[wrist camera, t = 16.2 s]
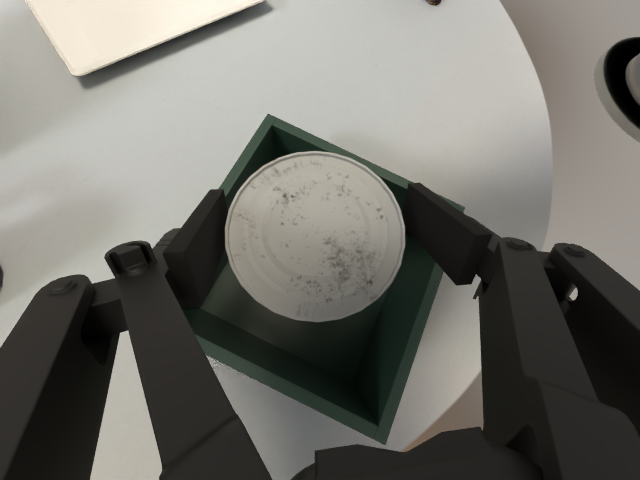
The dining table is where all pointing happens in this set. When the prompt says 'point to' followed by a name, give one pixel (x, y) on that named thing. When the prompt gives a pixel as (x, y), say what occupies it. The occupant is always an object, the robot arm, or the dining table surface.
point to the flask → (434, 2)
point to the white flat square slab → (122, 26)
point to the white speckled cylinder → (315, 236)
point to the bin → (328, 336)
